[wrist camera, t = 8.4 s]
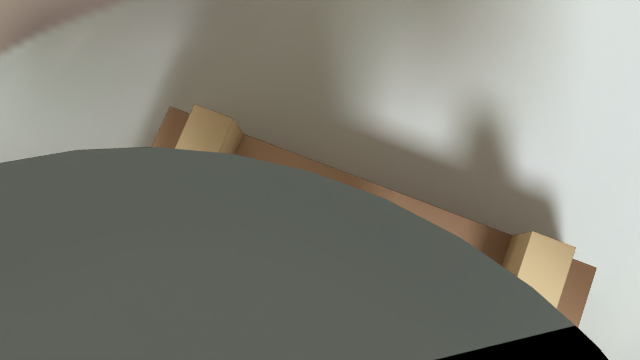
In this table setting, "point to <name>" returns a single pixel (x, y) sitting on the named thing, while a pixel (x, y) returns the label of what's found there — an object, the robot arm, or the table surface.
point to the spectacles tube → (245, 268)
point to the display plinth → (508, 251)
